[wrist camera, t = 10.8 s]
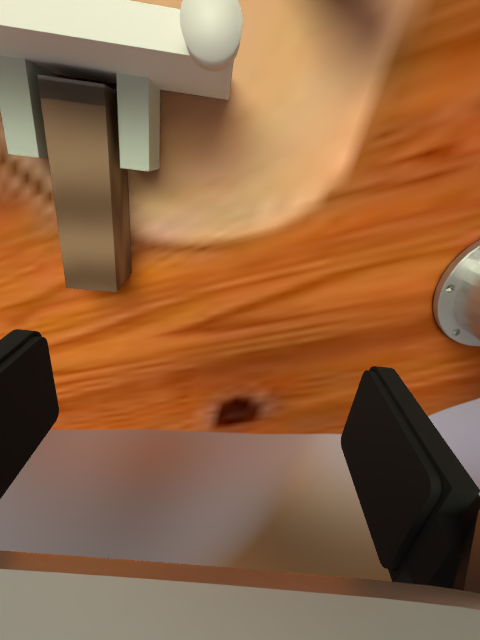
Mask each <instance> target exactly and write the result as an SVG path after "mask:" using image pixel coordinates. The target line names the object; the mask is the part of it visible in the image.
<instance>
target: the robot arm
mask: <svg viewBox="0 0 480 640" xmlns="http://www.w3.org/2000/svg"><path fill="white" fill-rule="evenodd" d="M433 311H434V318H435V320H436V322H437V324H438V326H439V327H440V329H441V330H442V331H443V332H444V333H445V334H446V335H447V336H448V337H450V338H451V339H453V340H454V341H456V342H458V343H461V344H464V345H468V346H480V240H479V241H477V242H475V243H474V244H472V245H471V246H469V247H468V248H467V249H465V250H464V251H463V252H462V253H461V254H459V255H458V256H457V257H456V259H455V260H454V261H453V262H452V263H451V264H450V265H449V267H448V268H447V269H446V271H445V272H444V274H443V275H442V277H441V279H440V281H439V283H438V286H437V288H436V292H435V295H434V301H433ZM58 414H59V407H58V401H57V395H56V389H55V383H54V378H53V372H52V366H51V360H50V355H49V349H48V343H47V340H46V338H44V337H42V336H41V334H40V333H39V332H37V331H29V330H19V329H16V330H13V331H12V332H10V333H9V334H8V335H6V336H5V337H4V338H2V339H1V340H0V498H1V497H2V496H3V495H4V493H5V492H6V490H7V489H8V487H9V486H10V485H11V483H12V482H13V480H14V479H15V478H16V476H17V475H18V474H19V472H20V471H21V469H22V468H23V467H24V465H25V464H26V462H27V461H28V460H29V458H30V457H31V455H32V454H33V452H34V451H35V450H36V448H37V447H38V445H39V444H40V443H41V441H42V440H43V438H44V437H45V436H46V434H47V433H48V431H49V430H50V429H51V427H52V426H53V424H54V423H55V422H56V420H57V417H58ZM341 447H342V450H343V453H344V456H345V459H346V462H347V465H348V468H349V471H350V474H351V477H352V480H353V483H354V486H355V489H356V492H357V495H358V498H359V501H360V504H361V507H362V510H363V513H364V516H365V519H366V521H367V525H368V528H369V531H370V534H371V537H372V539H373V542H374V545H375V548H376V551H377V554H378V557H379V560H380V563H381V564H382V566H383V567H384V568H387V569H388V570H389V573H390V576H391V579H392V582H389V581H380V580H370V579H360V578H349V577H336V576H323V575H312V574H299V573H288V572H287V573H286V572H275V571H263V570H251V569H239V568H225V567H213V566H200V565H187V564H174V563H162V562H148V561H134V560H122V559H109V558H96V557H82V556H68V555H54V554H40V553H26V552H11V551H0V640H480V496H479V495H478V493H479V492H480V490H479V488H478V487H477V486H476V484H475V483H474V481H473V480H472V478H471V477H470V476H469V474H468V473H467V472H466V470H465V469H464V467H463V466H462V464H461V463H460V462H459V460H458V459H457V457H456V456H455V455H454V453H453V452H452V450H451V449H450V447H449V446H448V445H447V443H446V442H445V441H444V439H443V438H442V436H441V435H440V433H439V432H438V430H437V429H436V428H435V426H434V425H433V423H432V422H431V421H430V419H429V418H428V416H427V415H426V414H425V412H424V411H423V409H422V408H421V406H420V405H419V404H418V402H417V401H416V399H415V398H414V397H413V395H412V394H411V392H410V391H409V390H408V388H407V387H406V385H405V384H404V382H403V381H402V380H401V378H400V377H399V375H398V374H397V373H396V371H395V370H394V369H392V368H385V367H376V366H373V367H371V368H370V370H369V371H368V370H366V371H365V372H364V373H363V375H362V378H361V381H360V384H359V387H358V390H357V393H356V395H355V398H354V401H353V404H352V407H351V410H350V413H349V416H348V419H347V421H346V424H345V427H344V430H343V433H342V436H341Z"/></svg>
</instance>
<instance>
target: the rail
mask: <svg viewBox="0 0 480 640" xmlns="http://www.w3.org/2000/svg"><path fill="white" fill-rule="evenodd" d="M37 76H38V84H39V91H40V98H41V106H42V113H43V120H44V128H45V135H46V142H47V150H48V157H49V165H50V172H51V179H52V187H53V194H54V201H55V209H56V216H57V223H58V231H59V238H60V245H61V253H62V260H63V267H64V275H65V282H66V288H73V289H85V290H96V291H108V292H117V291H118V290H119V289H120V287H121V286H122V285H123V283H124V282H125V281H126V279H127V278H128V277H129V275H130V274H131V273H132V268H131V241H130V215H129V189H128V169H125V168H120V149H119V126H118V102H117V91H115V90H113V89H112V88H110V87H108V86H106V85H105V84H100V83H93V82H86V81H79V80H72V79H65V78H58V77H51V76H44V75H37Z"/></svg>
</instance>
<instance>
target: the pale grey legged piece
mask: <svg viewBox="0 0 480 640" xmlns="http://www.w3.org/2000/svg"><path fill="white" fill-rule="evenodd" d="M242 22H243V21H242V12H241V7H240V4H239V2H238V0H183V1H182V4H181V9H175V8H170V7H164V6H158V5H152V4H147V3H141V2H135V1H130V0H0V111H1V116H2V122H3V127H4V133H5V138H6V144H7V150H8V154H13V155H21V156H29V157H37V158H46V157H48V150H47V142H46V135H45V128H44V120H43V113H42V106H41V98H40V91H39V84H38V76H37V75H44V76H51V77H58V75H65V76H72V77H78V78H85V79H92V80H98V81H105V82H112V83H117V102H118V126H119V149H120V168H125V169H133V170H141V171H153V170H157V169H160V90H165V91H172V92H178V93H185V94H192V95H199V96H205V97H212V98H219V99H225V100H229V94H230V86H231V78H232V70H233V62H234V59H235V57H236V55H237V52H238V49H239V44H240V38H241V32H242ZM57 74H58V75H57Z"/></svg>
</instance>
